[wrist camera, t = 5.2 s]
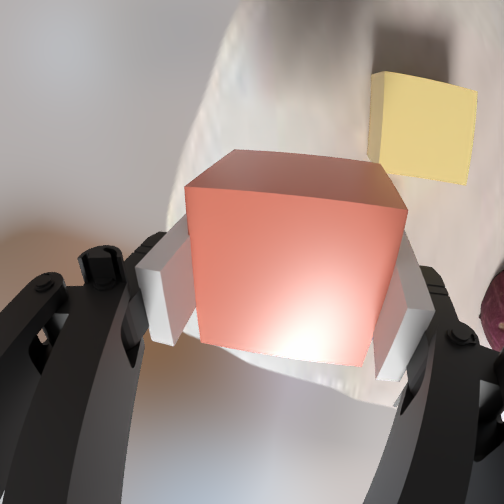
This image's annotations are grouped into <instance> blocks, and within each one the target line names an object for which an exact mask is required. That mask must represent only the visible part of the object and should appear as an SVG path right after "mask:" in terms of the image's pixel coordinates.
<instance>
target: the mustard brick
mask: <svg viewBox="0 0 504 504" xmlns="http://www.w3.org/2000/svg"><path fill="white" fill-rule="evenodd" d="M476 108H477V91H474V90H470V89H467V88H463V87H459V86H455V85H452V84H448V83H444V82H439V81H435V80H430V79H426V78H421V77H416V76H411V75H406V74H400V73H394V72H388V71H383V72H379V73H375V74H371V102H370V122H369V137H368V150H367V156H368V157H369V159H370V160H371V162H372V163H379V164H381V165H382V167H383V168H384V170H385V172H386V173H389V174H397V175H404V176H411V177H418V178H425V179H431V180H437V181H443V182H449V183H455V184H460V185H465V186H466V183H467V178H468V172H469V166H470V160H471V153H472V146H473V138H474V130H475V120H476Z"/></svg>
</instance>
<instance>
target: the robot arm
mask: <svg viewBox="0 0 504 504" xmlns="http://www.w3.org/2000/svg"><path fill="white" fill-rule="evenodd" d="M78 261H79V265H80V269H81V272H82V275H83V279H84V282H85V284H84V285H83V286H66V285H65V282H64V279H63V277H62V275H61V274H59V273H56V272H48V273H44V274H41V275H39V276H37V277H36V278H34V279H33V280H32V281H31V282H29V283H28V284H27V285H26V286H25V287H24V288H23V289H22V290H21V291H20V293H19V294H18V295H17V296H16V297H15V298H14V299H13V300H12V301H11V302H10V303H9V304H8V305H7V306H6V307H5V308H4V309H3V310H2V311H1V312H0V499H1V497H2V495H3V492H4V490H5V493H4V497H3V502H2V504H121V496H122V487H123V478H124V469H125V461H126V453H127V446H128V439H129V431H130V425H131V419H132V412H133V407H134V401H135V395H136V390H137V384H138V379H139V373H140V368H141V363H142V358H143V354H144V340H143V335H144V334H145V332H146V330H147V329H148V328H149V331H150V334H151V338H152V341H156V342H160V343H164V344H168V345H171V346H174V345H175V343H176V342H177V340H178V338H179V336H180V334H181V333H182V331H183V329H184V327H185V325H186V324H187V322H188V320H189V318H190V316H191V315H192V313H193V311H194V309H195V307H196V299H195V289H194V279H193V268H192V256H191V244H190V235H188V226H187V215H186V214H185V215H184V216H183V217H182V218H181V219H180V220H179V221H178V222H177V223H176V224H175V225H174V226H173V227H172V228H171V229H170V230H169V231H168V232H158V233H156V234H154V235H152V236H150V237H148V238H147V239H146V240H145V241H144V242H143V243H142V244H141V246H140V247H138V248H137V249H136V250H135V251H134V253H132V254H131V255H130V256H129V257H128V258H127V259H126V260H125V261H123V256H122V252H121V250H120V249H119V248H117V247H115V246H109V245H103V246H97V247H94V248H91V249H88V250H87V251H85V252H83V253H82V254H81V255H80V256H79V257H78ZM41 329H43V331H44V333H45V335H46V337H47V340H46V341H45V342H44V343H41V342H40V340H39V338H38V336H37V334H38V333H39V331H40V330H41ZM373 343H374V357H375V375H376V380H385V381H399V382H400V380H401V378H402V376H403V375H404V373H405V371H406V369H407V375H408V382H407V384H406V386H405V387H404V389H403V391H402V392H401V394H400V395H399V397H398V399H397V400H396V402H395V404H394V405H393V406H394V407H397V405H398V404H399V405H398V409H397V412H396V415H395V419H394V422H393V425H392V429H391V432H390V435H389V438H388V441H387V444H386V446H385V450H384V452H383V455H382V458H381V460H380V463H379V466H378V469H377V471H376V474H375V476H374V478H373V481H372V484H371V486H370V488H369V491H368V493H367V495H366V497H365V500H364V502H363V504H504V422H503V421H502V419H501V413H502V412H503V411H504V347H503V348H502V350H501V351H500V352H498V351H495V350H492V349H489V348H486V347H484V346H481V345H480V343H479V339H478V336H477V335H476V333H475V332H474V330H473V329H471V328H470V327H469V326H468V325H466V324H464V323H462V322H460V321H459V319H458V317H457V314H456V312H455V309H454V307H453V304H452V302H451V299H450V297H449V296H448V292H447V289H446V288H445V285H444V282H443V280H442V278H441V276H440V275H439V274H438V273H437V272H436V271H435V270H434V269H433V268H432V267H427V266H420V265H419V264H418V262H417V259H416V257H415V254H414V252H413V249H412V247H411V244H410V242H409V240H408V237H407V235H406V233H405V230H404V232H403V236H402V240H401V244H400V248H399V252H398V256H397V260H396V264H395V267H394V271H393V275H392V278H391V281H390V284H389V288H388V291H387V294H386V297H385V300H384V303H383V306H382V309H381V312H380V315H379V318H378V321H377V323H376V326H375V329H374V332H373Z"/></svg>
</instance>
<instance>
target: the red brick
mask: <svg viewBox="0 0 504 504" xmlns="http://www.w3.org/2000/svg"><path fill="white" fill-rule="evenodd" d="M184 189H185V202H186V215H187V226H188V235H190V244H191V256H192V268H193V279H194V289H195V299H196V310H197V317H198V325H199V332H200V339H201V342H202V343H206V344H211V345H216V346H221V347H226V348H232V349H237V350H242V351H248V352H254V353H259V354H265V355H272V356H278V357H284V358H291V359H298V360H305V361H313V362H321V363H329V364H338V365H348V366H358V367H362V365H363V362H364V360H365V357H366V354H367V352H368V349H369V346H370V343H371V341H372V338H373V332H374V329H375V326H376V323H377V321H378V318H379V315H380V312H381V309H382V306H383V303H384V300H385V297H386V294H387V291H388V288H389V284H390V281H391V278H392V275H393V271H394V267H395V264H396V260H397V256H398V252H399V248H400V244H401V240H402V236H403V232H404V228H405V223H406V219H407V214H408V209H407V207H406V205H405V204H404V202H403V200H402V198H401V197H400V195H399V193H398V191H397V190H396V188H395V186H394V185H393V183H392V181H391V180H390V178H389V176H388V175H387V173H386V172H385V170H384V168H383V167H382V165H381V164H379V163H372V162H365V161H358V160H351V159H343V158H335V157H326V156H316V155H306V154H296V153H284V152H270V151H255V150H235V149H234V150H233V151H231V152H230V153H229V154H227V155H226V156H225V157H223V158H222V159H220V160H219V161H218V162H216V163H215V164H214V165H212V166H211V167H210V168H208V169H207V170H206V171H204V172H203V173H202V174H200V175H199V176H198V177H196V178H195V179H194V180H192V181H191V182H190V183H188V184H187V185H186V186H185V187H184Z"/></svg>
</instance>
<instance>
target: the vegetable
mask: <svg viewBox="0 0 504 504" xmlns="http://www.w3.org/2000/svg"><path fill="white" fill-rule="evenodd" d="M479 318H480V319H481V324H482V327H483V330H484V333H485V335H486V338H487V340H488V342H489V344H490V346H491V347H492V349H493V350H495V351H498V352H500V351H501V350H502V348H503V347H504V270H503V271H502V272H501V273H499V274H498V275H497V276H496V277H495V278H494V279H493V281H492V282H491V283H490V286H489V288H488V290H487V292H486V295H485V297H484V299H483V301H482V305H481V314H480V316H479Z"/></svg>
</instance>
